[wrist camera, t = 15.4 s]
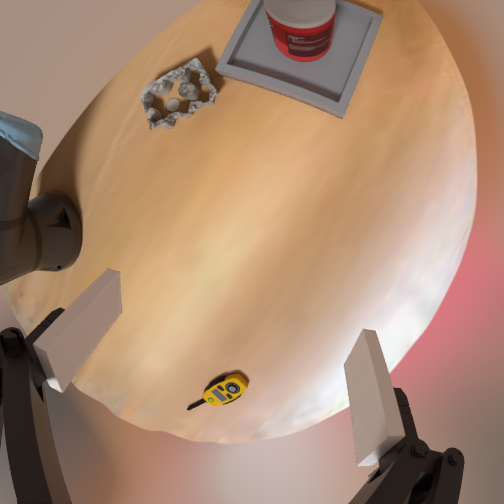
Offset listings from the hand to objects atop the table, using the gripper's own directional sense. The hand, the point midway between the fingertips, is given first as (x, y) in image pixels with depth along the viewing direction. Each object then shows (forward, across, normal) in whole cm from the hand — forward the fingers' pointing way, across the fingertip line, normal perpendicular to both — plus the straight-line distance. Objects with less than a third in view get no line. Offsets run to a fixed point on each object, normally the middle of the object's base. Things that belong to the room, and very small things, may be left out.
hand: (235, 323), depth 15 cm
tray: (+31, 0, +23) cm, 38 cm away
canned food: (+30, 0, +23) cm, 38 cm away
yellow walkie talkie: (+21, -2, -35) cm, 41 cm away
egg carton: (+31, -15, +11) cm, 36 cm away
